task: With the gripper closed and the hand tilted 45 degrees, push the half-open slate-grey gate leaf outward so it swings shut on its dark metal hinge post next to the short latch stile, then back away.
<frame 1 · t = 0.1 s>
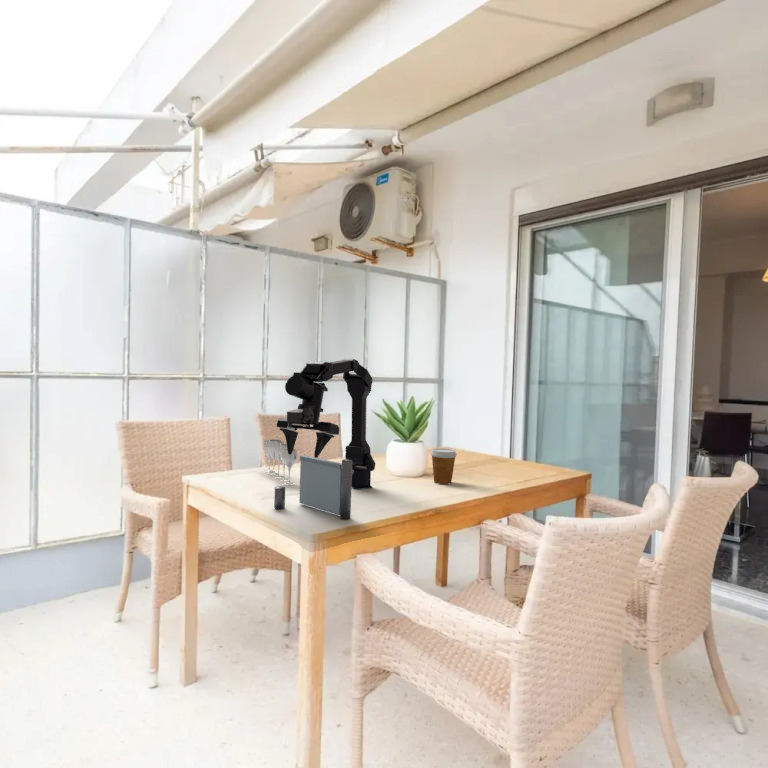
hand: (302, 455, 150), 15 cm above the table, tool pointing down, fingers open, 9 cm apart
gate leaf: (320, 484, 150), point 8 cm above the table, hinge at -20.0°
disposable coffee cup: (442, 483, 193), on the table
posts: (345, 518, 143), on the table
goblet set: (278, 478, 192), on the table
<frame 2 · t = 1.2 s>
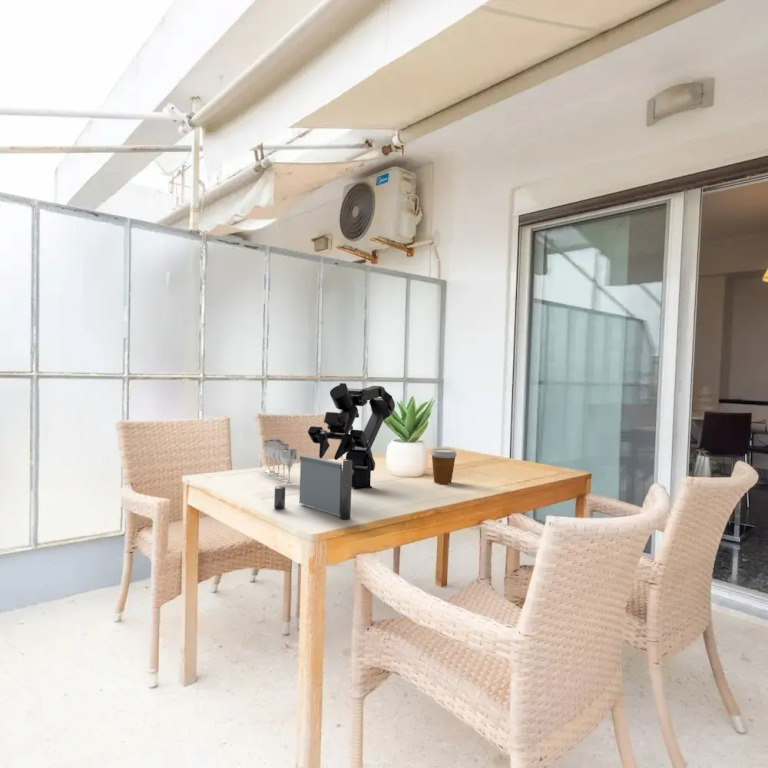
hand: (327, 458, 158), 14 cm above the table, tool tilted 45°, fingers open, 5 cm apart
nothing on the table moved.
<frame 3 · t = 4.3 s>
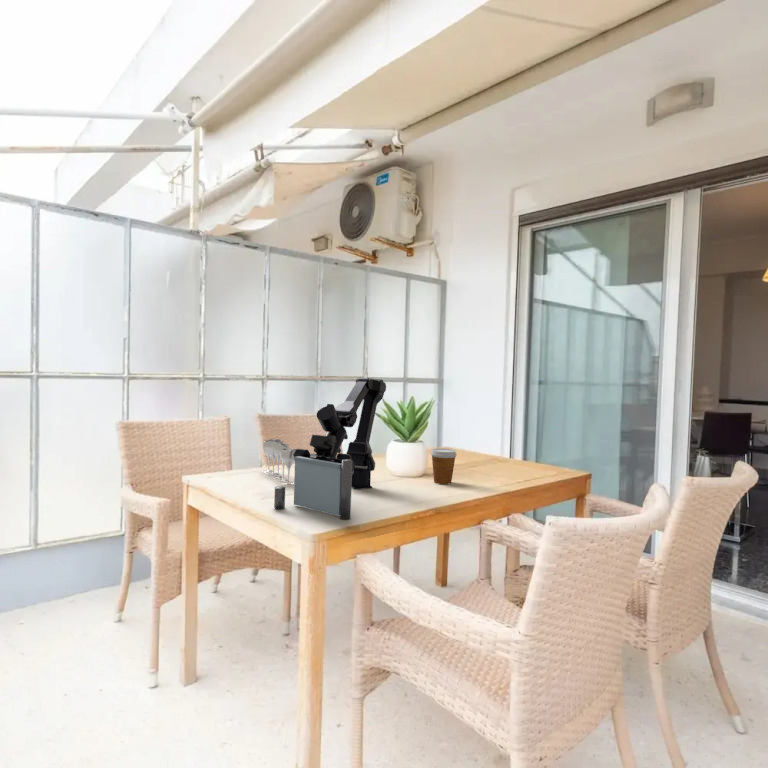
hand: (313, 483, 151), 7 cm above the table, tool tilted 45°, fingers closed
gate leaf: (317, 484, 149), point 8 cm above the table, hinge at -13.2°, touching gripper
everything else where it was.
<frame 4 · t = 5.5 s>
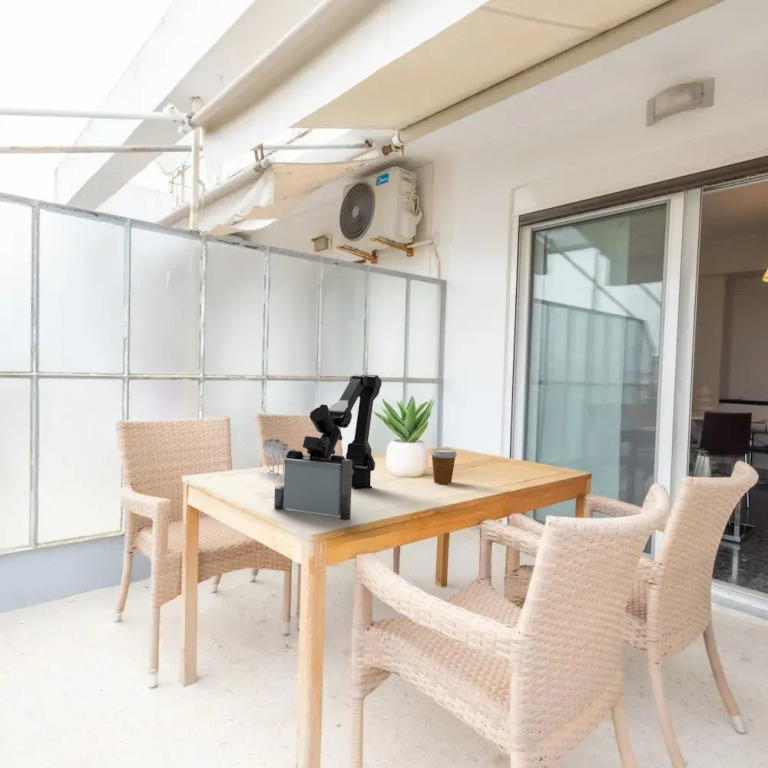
hand: (306, 486, 148), 7 cm above the table, tool tilted 45°, fingers closed, pressing on gate leaf
gate leaf: (312, 486, 146), point 8 cm above the table, hinge at 1.4°, touching gripper
everything else where it was.
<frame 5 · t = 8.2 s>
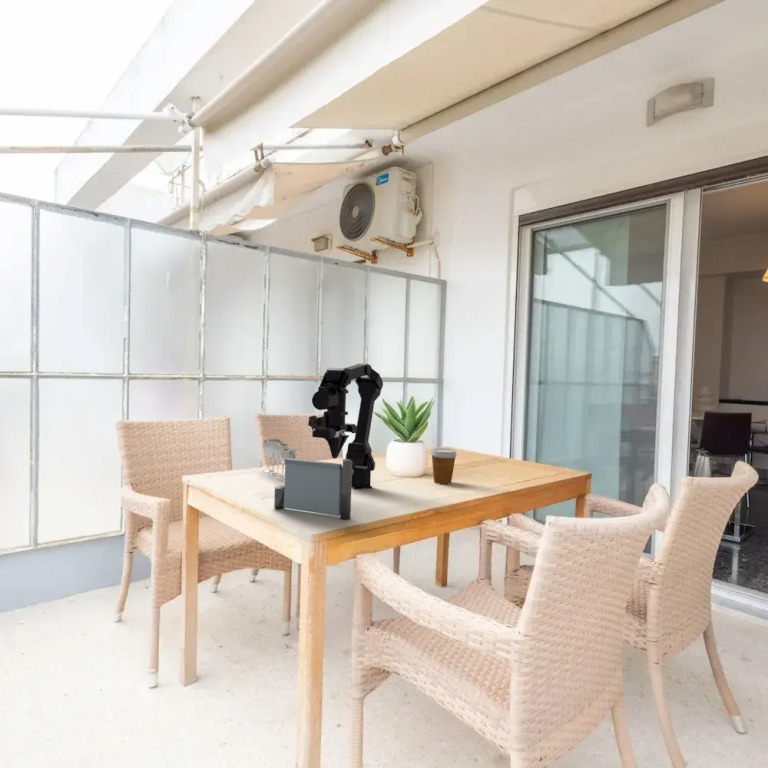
hand: (334, 458, 163), 13 cm above the table, tool pointing down, fingers closed
gate leaf: (312, 486, 146), point 8 cm above the table, hinge at 0.3°
everything else where it was.
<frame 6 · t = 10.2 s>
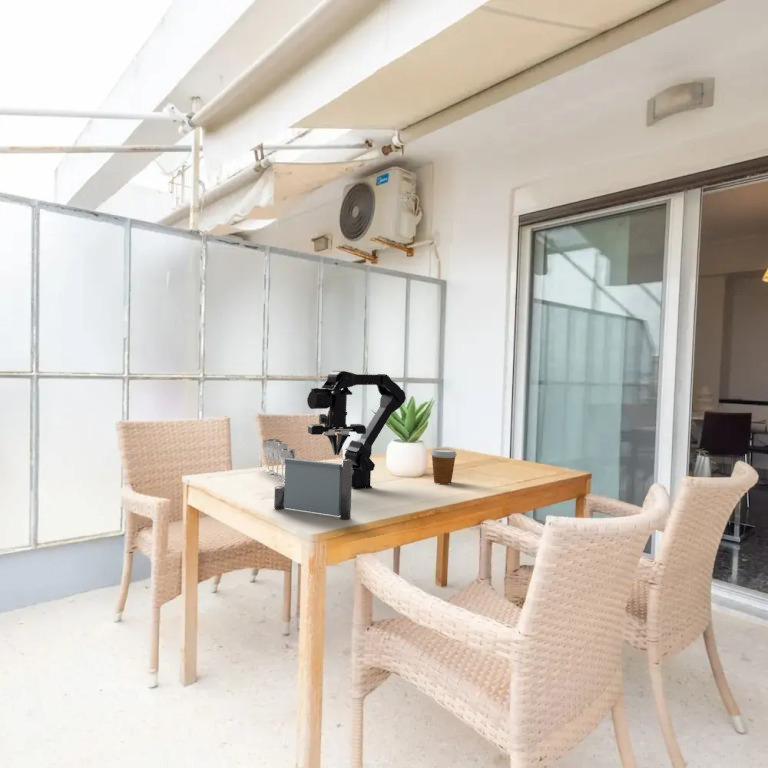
hand: (336, 454, 174), 12 cm above the table, tool pointing down, fingers closed
nothing on the table moved.
at the end: gate leaf at +0° (first picture: -20°); goblet set moved 1.1 cm from its start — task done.
